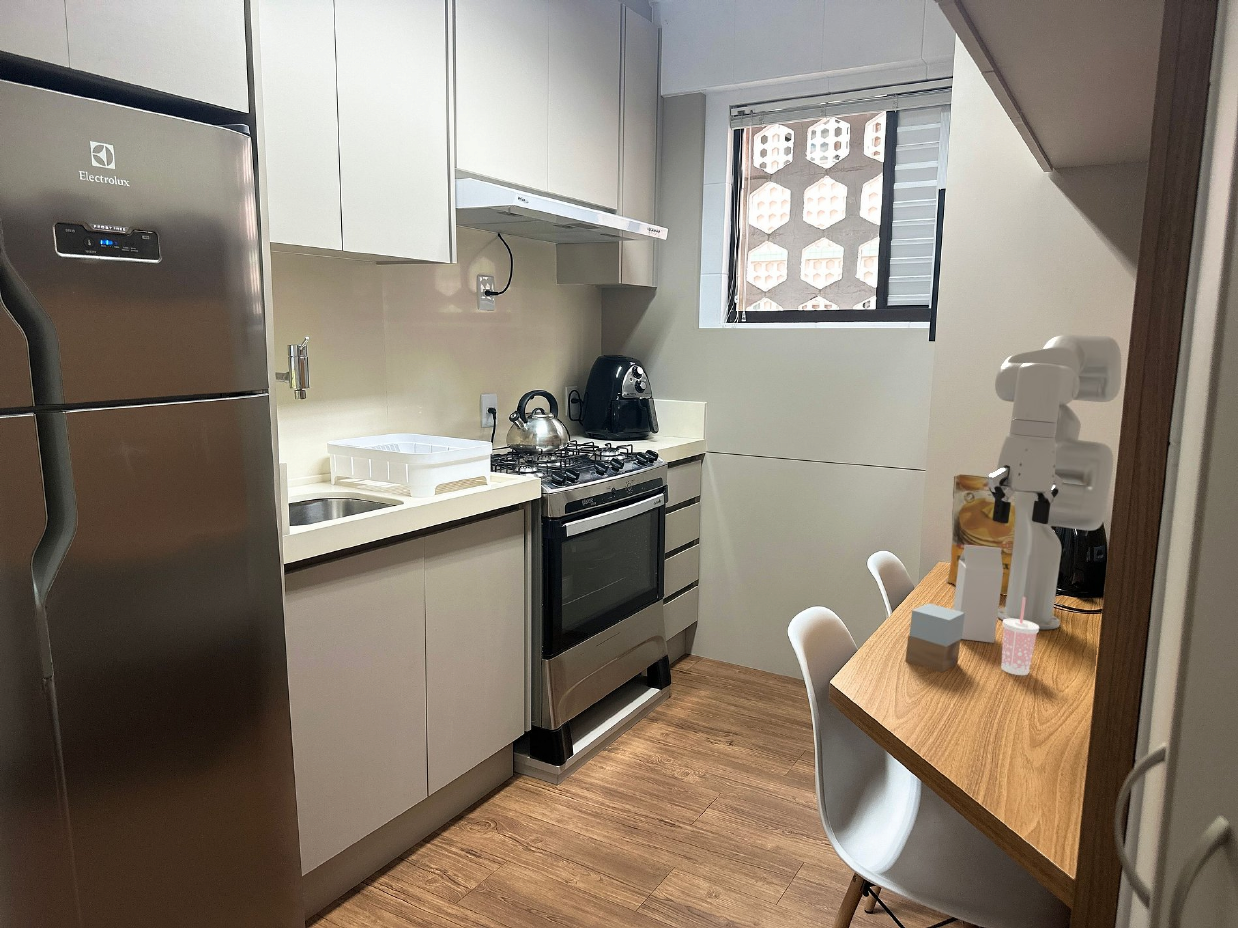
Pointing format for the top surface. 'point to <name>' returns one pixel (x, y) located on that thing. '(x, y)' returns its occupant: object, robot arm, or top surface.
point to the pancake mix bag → (979, 524)
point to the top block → (937, 624)
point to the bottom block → (932, 654)
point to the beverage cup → (1018, 644)
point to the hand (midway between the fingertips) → (1020, 522)
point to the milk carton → (979, 591)
